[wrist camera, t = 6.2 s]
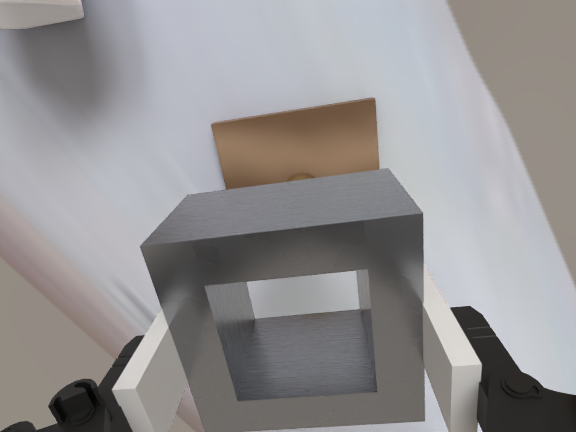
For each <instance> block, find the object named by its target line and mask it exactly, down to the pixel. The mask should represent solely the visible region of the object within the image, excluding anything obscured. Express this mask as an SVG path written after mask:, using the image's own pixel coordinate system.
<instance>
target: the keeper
mask: <svg viewBox="0 0 576 432" xmlns="http://www.w3.org/2000/svg"><path fill="white" fill-rule="evenodd" d="M211 126H212V130H213V135H214V139H215V143H216V147H217V151H218V156H219V160H220V164H221V168H222V173H223V177H224V181H225V185H226V189H227V190H229V189H236V188H244V187H251V186H259V185H266V184H274V183H282V182H289V181H297V180H304V179H312V178H320V177H327V176H335V175H342V174H350V173H358V172H365V171H373V170H379V157H378V139H377V122H376V105H375V99H374V98H367V99H361V100H354V101H348V102H341V103H335V104H329V105H322V106H316V107H309V108H303V109H297V110H290V111H284V112H277V113H271V114H265V115H258V116H252V117H246V118H239V119H233V120H226V121H220V122H214V123H213V124H211Z"/></svg>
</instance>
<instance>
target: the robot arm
mask: <svg viewBox="0 0 576 432" xmlns="http://www.w3.org/2000/svg"><path fill="white" fill-rule="evenodd" d="M423 364H424V367H425V370H426V372H427V375H428V378H429V380H430V383H431V385H432V388H433V391H434V393H435V396H436V399H437V401H438V404H439V407H440V409H441V412H442V415H443V417H444V420H445V423H446V425H447V428H448V431H449V432H477V426H478V422H479V425H480V427H481V429H482V431H483V432H576V395H571V394H566V393H561V392H556V391H552V390H549V389H546V388H544V387H543V386H542V385H541V384H540V383H539V382H538V381H537V380H536V379H534V378H533V377H531V376H530V375H528V374H526V373H523V372H521V370H520V369H519V368H518V366H517V365H516V363H515V362H514V360H513V359H512V357H511V356H510V354H509V353H508V352H507V350H506V349H505V347H504V346H503V344H502V343H501V341H500V340H499V338H498V337H496V334H495V333H494V331H493V330H492V328H490V325H489V324H488V322H487V321H486V319H485V318H484V317H483V315H482V314H481V313H479V312H478V311H476V310H475V309H473V308H472V307H471V306H463V307H452V308H449V306H448V304H447V302H446V301H445V299H444V297H443V295H442V294H441V292H440V290H439V288H438V287H437V285H436V283H435V281H434V279H433V278H432V276H431V274H430V272H429V271H428V269H427V267H426V265H425V264H424V303H423ZM187 383H188V380H187V378H186V375H185V372H184V369H183V366H182V363H181V361H180V358H179V355H178V352H177V349H176V347H175V344H174V341H173V338H172V335H171V333H170V330H169V327H168V325H167V322H166V319H165V316H164V313H163V310H162V308H161V310H160V311H159V313H158V315H157V316H156V318H155V320H154V321H153V323H152V325H151V326H150V328H149V329H148V331H147V333H146V334H145V335H142V336H136V337H134V338H133V339H132V340H131V341H130V342H129V343H128V344H127V345H125V347H124V348H123V350H122V351H121V353H120V354H119V356H118V359H116V360H115V362H114V364H113V365H112V368H110V370H109V371H108V373H107V374H106V376H105V377H104V379H103V380H102V382H101V383H100V385H99V386H98V387H97V385H96V383H95V382H94V381H93V380H91V379H81V380H78V381H75V382H73V383H71V384H69V385H67V386H65V387H64V388H63V389H61V390H60V391H59V392H58V393H57V394H56V395H55V396H54V397H53V398H52V400H51V402H50V404H49V406H48V407H49V409H50V410H51V412H52V414H53V416H54V417H55V419H56V421H57V422H58V423H57V424H54V425H51V426H48V427H45V428H42V429H39V430H36V429H35V427H34V426H33V424H32V423H30V422H28V421H24V422H18V423H15V424H13V425H11V426H9V427H7V428H5V429H4V430H2V431H1V432H169V430H170V427H171V425H172V422H173V420H174V417H175V414H176V412H177V409H178V407H179V404H180V401H181V399H182V396H183V393H184V391H185V388H186V386H187Z"/></svg>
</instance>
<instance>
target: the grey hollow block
mask: <svg viewBox="0 0 576 432" xmlns="http://www.w3.org/2000/svg"><path fill="white" fill-rule="evenodd" d="M140 248H141V251H142V254H143V257H144V259H145V262H146V265H147V268H148V271H149V274H150V276H151V279H152V282H153V285H154V288H155V291H156V293H157V296H158V299H159V302H160V305H161V308H162V310H163V313H164V316H165V319H166V322H167V325H168V327H169V330H170V333H171V335H172V338H173V341H174V344H175V347H176V349H177V352H178V355H179V358H180V361H181V363H182V366H183V369H184V372H185V375H186V378H187V380H188V384H189V387H190V390H191V393H192V395H193V398H194V401H195V404H196V407H197V410H198V412H199V415H200V418H201V421H202V424H203V427H204V429H205V432H243V431H261V430H278V429H296V428H314V427H332V426H350V425H367V424H385V423H403V422H421V421H425V392H424V364H423V303H424V262H423V212H422V211H421V210H420V208H419V207H418V206H417V205H416V203H415V202H414V201H413V199H412V198H411V197H410V196H409V194H408V193H407V192H406V190H405V189H404V188H403V187H402V185H401V184H400V183H399V181H398V180H397V179H396V178H395V176H394V175H393V174H392V172H391V171H390V170H389V169H380V170H373V171H365V172H358V173H350V174H342V175H335V176H327V177H320V178H312V179H304V180H297V181H289V182H282V183H274V184H266V185H259V186H251V187H244V188H236V189H229V190H221V191H213V192H206V193H198V194H191V195H187V196H186V197H185V198H184V199H183V200H182V202H181V203H180V204H179V205H178V206H177V207H176V208H175V209H174V210H173V211H172V212H171V213H170V214H169V216H168V217H167V218H166V219H165V220H164V221H163V222H162V223H161V224H160V225H159V226H158V227H157V229H156V230H155V231H154V232H153V233H152V234H151V235H150V236H149V237H148V238H147V239H146V240H145V241H144V243H143V244H142V245H141V246H140ZM355 270H356V273H357V284H358V295H359V305H360V309H359V310H348V311H337V312H326V313H315V314H304V315H293V316H282V317H271V318H260V319H255V317H254V313H253V309H252V304H251V300H250V296H249V291H248V287H247V283H246V282H248V281H258V280H267V279H277V278H287V277H297V276H306V275H316V274H326V273H336V272H345V271H355Z"/></svg>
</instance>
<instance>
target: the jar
mask: <svg viewBox="0 0 576 432" xmlns="http://www.w3.org/2000/svg"><path fill="white" fill-rule="evenodd" d="M83 17H84V11H83V6H82V2H81V0H0V29H27V28H32V27H38V26H43V25H48V24H54V23H59V22H65V21H70V20H76V19H81V18H83Z"/></svg>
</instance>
